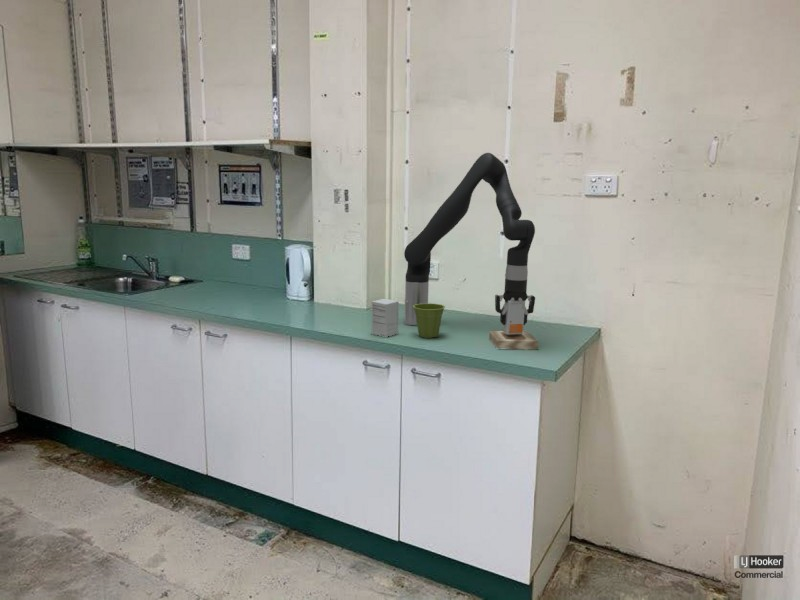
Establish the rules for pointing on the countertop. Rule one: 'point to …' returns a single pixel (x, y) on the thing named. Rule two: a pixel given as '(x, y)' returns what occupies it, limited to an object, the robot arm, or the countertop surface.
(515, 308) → the skincare box
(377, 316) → the supplement box
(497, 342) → the birch plinth
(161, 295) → the countertop surface
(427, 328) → the plant pot
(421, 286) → the robot arm
